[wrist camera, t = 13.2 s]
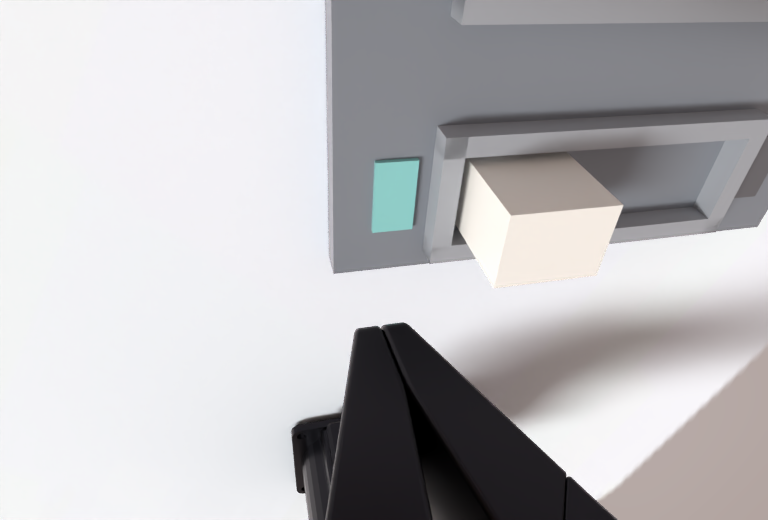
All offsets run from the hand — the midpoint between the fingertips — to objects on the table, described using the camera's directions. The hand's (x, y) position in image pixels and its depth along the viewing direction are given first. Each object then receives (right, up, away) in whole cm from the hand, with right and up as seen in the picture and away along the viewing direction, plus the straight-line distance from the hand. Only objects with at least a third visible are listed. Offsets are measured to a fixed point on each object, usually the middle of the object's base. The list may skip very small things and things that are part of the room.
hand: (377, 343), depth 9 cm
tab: (+5, +4, +12) cm, 14 cm away
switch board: (+8, +9, +11) cm, 17 cm away
